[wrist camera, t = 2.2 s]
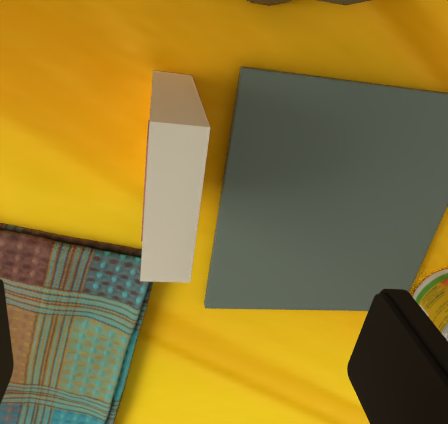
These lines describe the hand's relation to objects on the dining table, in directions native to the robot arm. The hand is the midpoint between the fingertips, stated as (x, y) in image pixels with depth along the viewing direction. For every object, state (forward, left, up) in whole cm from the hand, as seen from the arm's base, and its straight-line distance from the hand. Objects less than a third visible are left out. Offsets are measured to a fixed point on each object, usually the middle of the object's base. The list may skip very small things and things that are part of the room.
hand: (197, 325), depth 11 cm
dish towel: (+18, -11, -15) cm, 26 cm away
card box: (0, -1, -15) cm, 15 cm away
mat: (+4, +10, -15) cm, 18 cm away
